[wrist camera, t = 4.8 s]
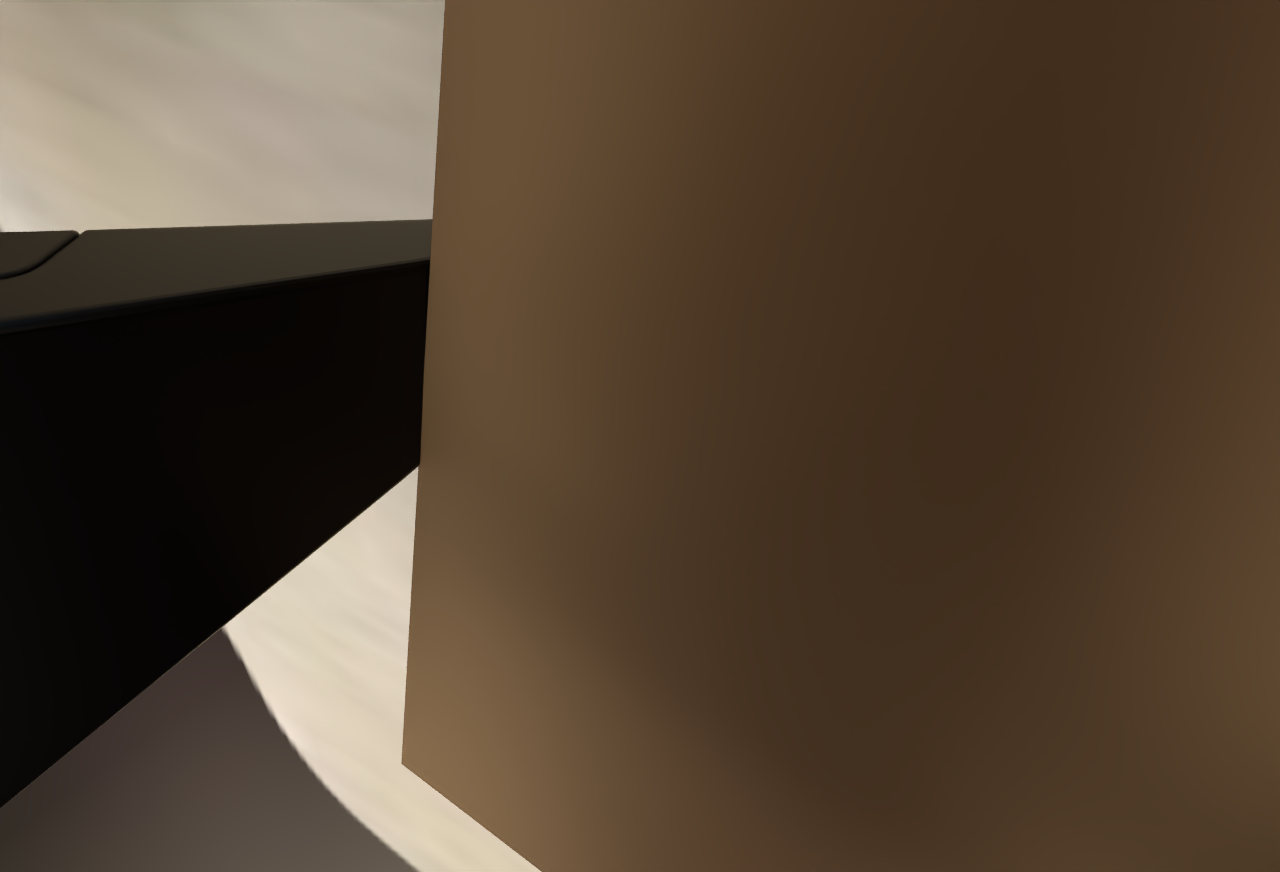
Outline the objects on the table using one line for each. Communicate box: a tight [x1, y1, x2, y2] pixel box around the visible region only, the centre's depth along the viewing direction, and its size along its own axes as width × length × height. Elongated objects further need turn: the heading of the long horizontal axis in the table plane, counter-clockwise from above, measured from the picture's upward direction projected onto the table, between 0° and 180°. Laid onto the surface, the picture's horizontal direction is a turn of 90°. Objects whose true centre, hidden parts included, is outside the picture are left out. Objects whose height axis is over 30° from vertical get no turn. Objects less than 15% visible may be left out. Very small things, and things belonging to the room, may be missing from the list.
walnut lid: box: [402, 0, 1280, 872], centre depth 8 cm, size 6×10×2 cm, turn 170°
